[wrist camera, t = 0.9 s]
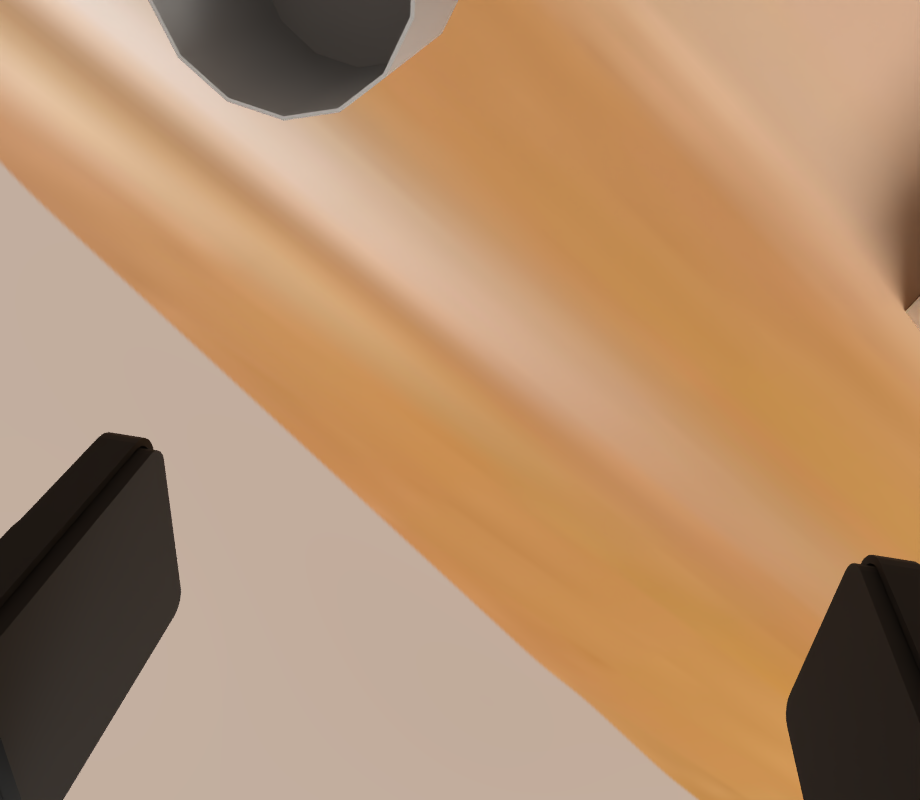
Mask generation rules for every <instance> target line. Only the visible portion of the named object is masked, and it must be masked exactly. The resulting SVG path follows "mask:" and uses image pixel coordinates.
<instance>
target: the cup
mask: <svg viewBox="0 0 920 800" xmlns="http://www.w3.org/2000/svg"><path fill="white" fill-rule="evenodd" d="M148 1H149V3H150V5H151V7H152V8H153V10H154V12H155V14H156V16H157V18H158V20H159V22H160V24H161V26H162V28H163V30H164V31H165V33H166V35H167V37H168V39H169V41H170V43H171V45H172V47H173V49H174V51H175V53H176V54H177V56H178V58H179V59H180V60H181V61H182V62H184V63H185V64H186V65H187V66H188V67H189V68H190V69H191V70H193V71H194V72H195V73H196V74H197V75H198V76H199V77H200V78H201V79H203V80H204V81H205V82H206V83H207V84H208V85H209V86H210V87H212V88H213V89H214V90H215V91H216V92H217V93H218V94H219V95H221V96H222V97H223V98H224V99H225V100H226V101H228V102H230V103H233V104H236V105H239V106H242V107H245V108H248V109H251V110H254V111H257V112H260V113H263V114H266V115H269V116H272V117H275V118H278V119H281V120H290V119H297V118H304V117H310V116H317V115H324V114H331V113H337V112H341V111H342V110H343V109H345V108H346V107H347V106H349V105H350V104H351V103H352V102H354V101H355V100H356V99H358V98H359V97H360V96H362V95H363V94H364V93H366V92H367V91H368V90H369V89H371V88H372V87H373V86H375V85H376V84H377V83H379V82H380V81H381V80H383V79H384V78H385V77H386V76H388V75H389V74H390V73H392V72H393V71H394V70H396V69H397V68H398V67H399V66H401V65H402V64H403V63H405V62H406V61H407V60H408V59H410V58H411V57H412V56H414V55H415V54H416V53H417V52H419V51H420V50H421V49H423V48H424V47H425V46H426V45H428V44H429V43H430V42H432V41H433V40H434V39H435V38H437V37H438V36H439V35H441V34H442V32H443V30H444V28H445V26H446V24H447V22H448V20H449V18H450V16H451V14H452V12H453V10H454V8H455V6H456V4H457V2H458V0H148Z"/></svg>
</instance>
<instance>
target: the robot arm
mask: <svg viewBox="0 0 920 800" xmlns="http://www.w3.org/2000/svg"><path fill="white" fill-rule="evenodd" d="M180 595H181V587H180V580H179V572H178V564H177V557H176V549H175V542H174V534H173V527H172V519H171V511H170V503H169V496H168V488H167V480H166V473H165V466H164V459H163V455H162V454H161V452H160V451H157V450H153V446H152V444H151V442H150V441H149V440H148V439H146V438H141V437H135V436H129V435H122V434H117V433H110V432H108V433H104V434H102V435H101V436H100V437H99V438H98V439H97V440H96V441H95V442H94V443H93V444H92V445H91V446H90V447H89V448H88V449H87V450H86V451H85V452H84V453H83V454H82V455H81V457H79V459H78V460H77V461H76V462H75V463H74V464H73V465H72V466H71V467H70V468H69V469H68V470H67V471H66V472H65V473H64V474H63V475H62V476H61V477H60V478H59V480H58V481H57V482H56V483H55V484H54V485H53V486H52V487H51V488H50V489H49V490H48V491H47V492H46V493H45V494H44V495H43V496H42V497H41V499H39V501H38V502H37V503H36V504H35V505H34V506H33V507H32V508H31V509H30V510H29V511H28V512H27V513H26V514H25V515H24V516H23V517H22V518H21V519H20V520H19V521H18V522H17V523H16V524H15V525H13V526H12V527H11V528H10V529H9V530H8V531H7V532H6V533H5V534H4V536H2V538H1V539H0V800H63V799H64V797H65V796H66V794H67V792H68V791H69V789H70V787H71V786H72V784H73V782H74V781H75V779H76V777H77V775H78V774H79V772H80V771H81V769H82V767H83V766H84V764H85V763H86V761H87V759H88V757H89V756H90V754H91V753H92V751H93V749H94V748H95V746H96V744H97V743H98V741H99V739H100V738H101V736H102V735H103V733H104V731H105V729H106V728H107V726H108V725H109V723H110V721H111V720H112V718H113V716H114V715H115V713H116V711H117V710H118V708H119V706H120V705H121V703H122V701H123V700H124V698H125V697H126V695H127V693H128V692H129V690H130V688H131V686H132V685H133V683H134V681H135V680H136V678H137V677H138V675H139V673H140V672H141V670H142V668H143V667H144V665H145V663H146V662H147V660H148V658H149V657H150V655H151V654H152V652H153V650H154V649H155V647H156V645H157V644H158V642H159V640H160V639H161V637H162V635H163V634H164V632H165V630H166V629H167V627H168V625H169V623H170V622H171V620H172V618H173V617H174V615H175V613H176V611H177V608H178V605H179V601H180ZM786 721H787V728H788V732H789V736H790V741H791V745H792V750H793V754H794V759H795V763H796V767H797V772H798V776H799V781H800V785H801V790H802V794H803V799H804V800H920V564H918V563H916V562H914V561H907V560H901V559H895V558H889V557H883V556H876V555H868V556H867V557H866V558H864V559H863V561H862V563H861V564H856V563H853V564H850V565H849V566H848V567H847V569H846V571H845V573H844V575H843V577H842V580H841V582H840V584H839V586H838V589H837V591H836V593H835V595H834V597H833V600H832V602H831V604H830V606H829V608H828V611H827V613H826V615H825V617H824V620H823V622H822V624H821V626H820V628H819V631H818V633H817V635H816V637H815V640H814V642H813V644H812V646H811V648H810V651H809V653H808V655H807V657H806V660H805V662H804V664H803V666H802V668H801V671H800V673H799V675H798V677H797V679H796V682H795V684H794V686H793V688H792V691H791V693H790V695H789V698H788V702H787V708H786Z"/></svg>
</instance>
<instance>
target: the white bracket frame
mask: <svg viewBox="0 0 920 800" xmlns="http://www.w3.org/2000/svg"><path fill="white" fill-rule="evenodd" d="M905 312H906V313H907V315H908V316H909V317H910V319H911V320H912V321H913V323H914V324H915V325H916V327H917V328H918V329H919V331H920V297H919V298H918V299H917V300H916V301H915V302H914V303H913V304H912V305H911V306H910V307H909V308H908V309H907V310H906V311H905Z"/></svg>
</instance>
